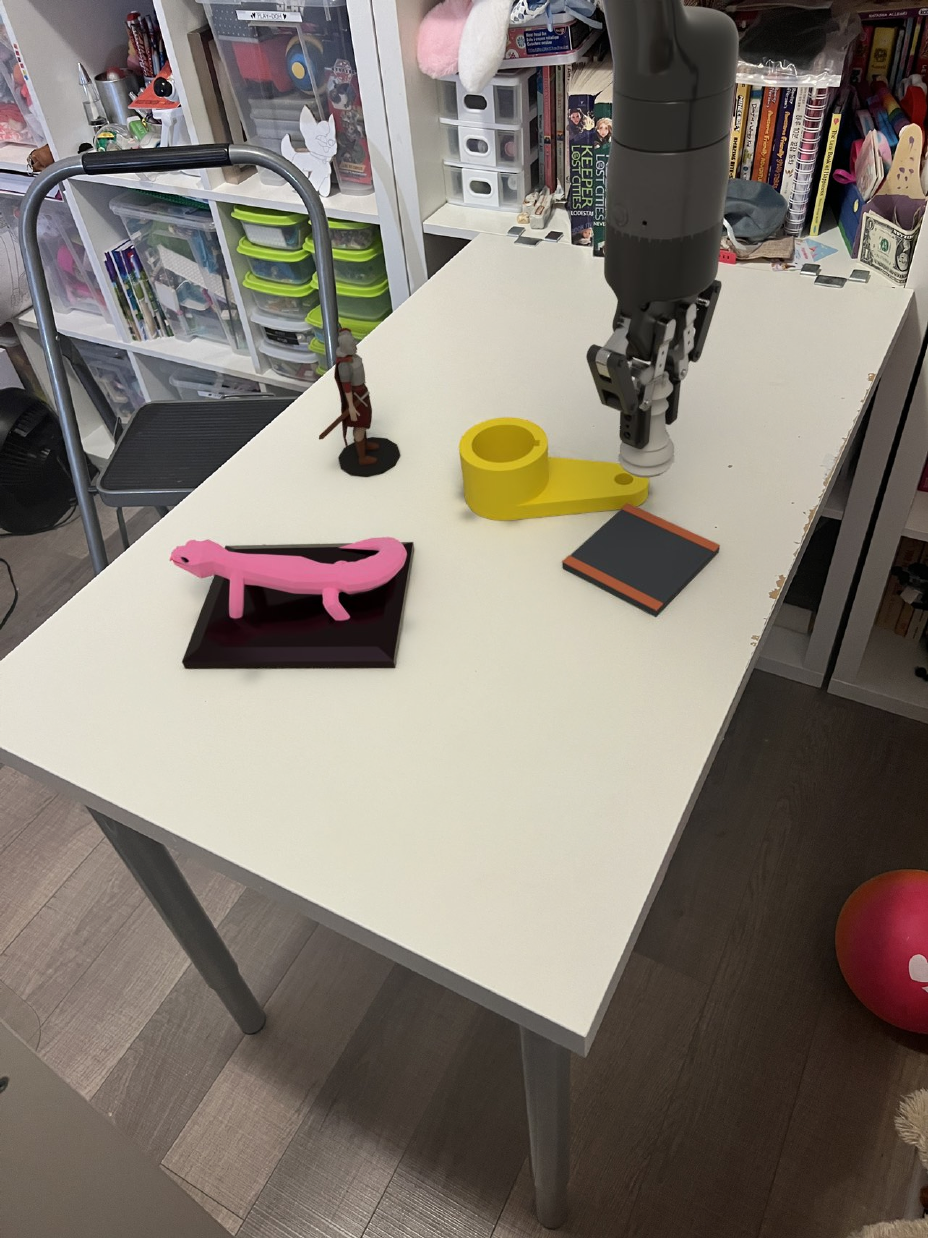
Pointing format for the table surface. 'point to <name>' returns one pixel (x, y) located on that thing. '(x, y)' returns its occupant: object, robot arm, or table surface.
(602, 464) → the crank
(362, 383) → the figurine
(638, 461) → the rook chess piece
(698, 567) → the mat
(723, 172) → the robot arm
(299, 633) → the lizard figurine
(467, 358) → the table surface
